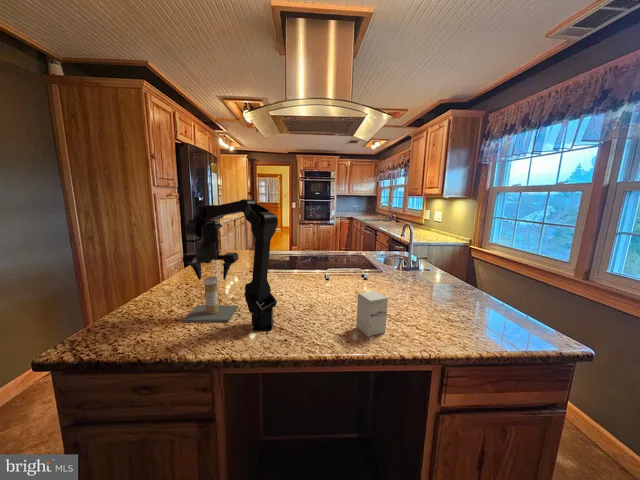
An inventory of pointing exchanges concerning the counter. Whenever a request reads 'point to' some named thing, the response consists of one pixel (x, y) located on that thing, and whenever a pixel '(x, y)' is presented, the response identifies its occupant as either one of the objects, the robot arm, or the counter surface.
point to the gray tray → (201, 315)
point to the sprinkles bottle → (211, 295)
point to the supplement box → (371, 313)
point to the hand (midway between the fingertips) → (212, 279)
